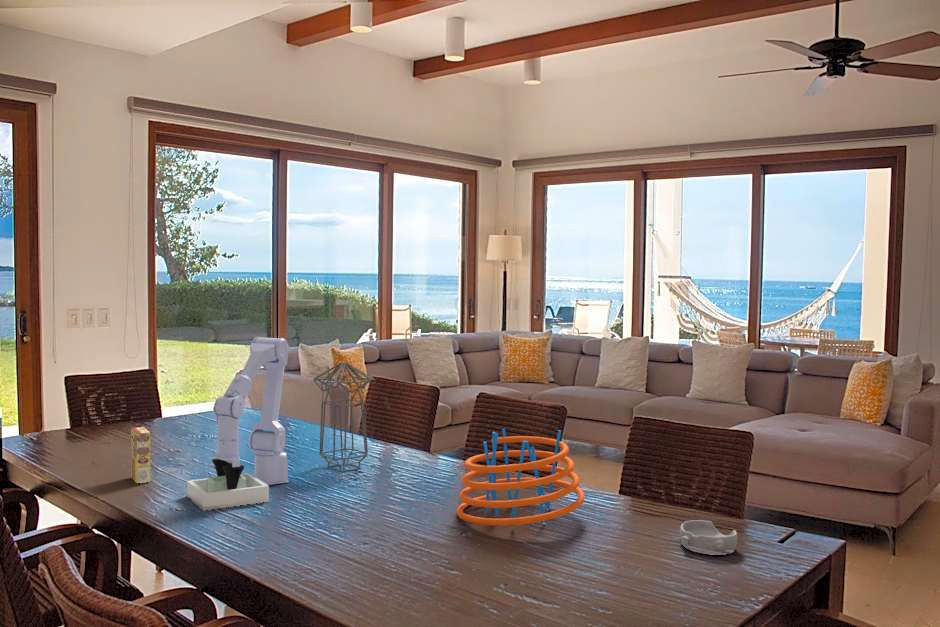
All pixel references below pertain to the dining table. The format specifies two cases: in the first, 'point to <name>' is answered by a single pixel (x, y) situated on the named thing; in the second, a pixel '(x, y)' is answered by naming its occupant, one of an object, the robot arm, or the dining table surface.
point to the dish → (706, 536)
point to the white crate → (227, 494)
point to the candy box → (140, 455)
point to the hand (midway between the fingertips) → (227, 487)
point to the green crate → (223, 483)
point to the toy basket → (519, 480)
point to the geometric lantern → (368, 379)
